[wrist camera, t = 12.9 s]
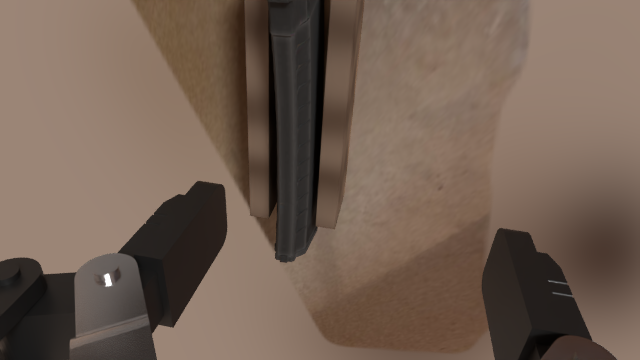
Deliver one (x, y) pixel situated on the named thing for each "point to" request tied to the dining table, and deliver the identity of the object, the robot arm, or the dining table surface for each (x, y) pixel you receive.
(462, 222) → the dining table surface
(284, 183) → the magazine
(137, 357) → the robot arm
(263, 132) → the slot block
